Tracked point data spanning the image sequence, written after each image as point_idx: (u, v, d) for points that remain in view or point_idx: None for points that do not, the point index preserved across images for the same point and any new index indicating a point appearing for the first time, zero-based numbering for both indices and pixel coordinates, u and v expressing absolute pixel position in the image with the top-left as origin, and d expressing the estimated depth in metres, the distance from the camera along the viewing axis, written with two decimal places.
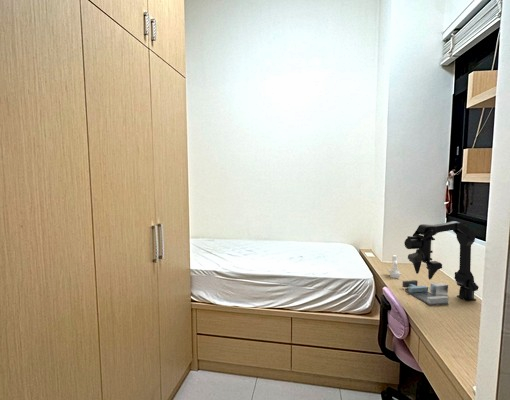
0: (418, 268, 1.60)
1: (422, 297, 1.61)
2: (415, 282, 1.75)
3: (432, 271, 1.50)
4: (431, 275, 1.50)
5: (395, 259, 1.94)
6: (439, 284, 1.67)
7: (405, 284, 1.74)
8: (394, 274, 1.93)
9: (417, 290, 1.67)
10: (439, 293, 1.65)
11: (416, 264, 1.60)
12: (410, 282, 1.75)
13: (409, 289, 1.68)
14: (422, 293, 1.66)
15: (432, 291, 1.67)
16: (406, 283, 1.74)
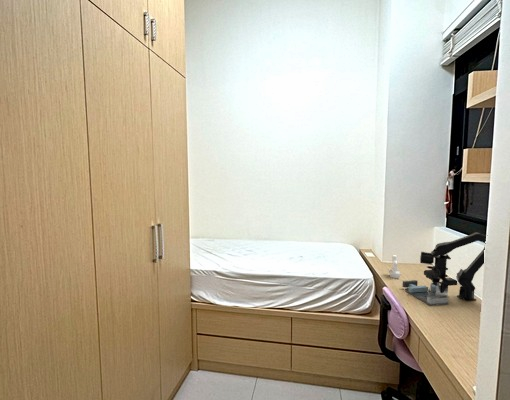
0: None
1: (422, 297, 1.61)
2: (415, 282, 1.75)
3: (444, 285, 1.64)
4: (443, 289, 1.65)
5: (395, 259, 1.94)
6: (439, 284, 1.67)
7: (405, 284, 1.74)
8: (394, 274, 1.93)
9: (417, 290, 1.67)
10: (439, 293, 1.65)
11: (435, 281, 1.70)
12: (410, 282, 1.75)
13: (409, 289, 1.68)
14: (422, 293, 1.66)
15: (432, 291, 1.67)
16: (406, 283, 1.74)
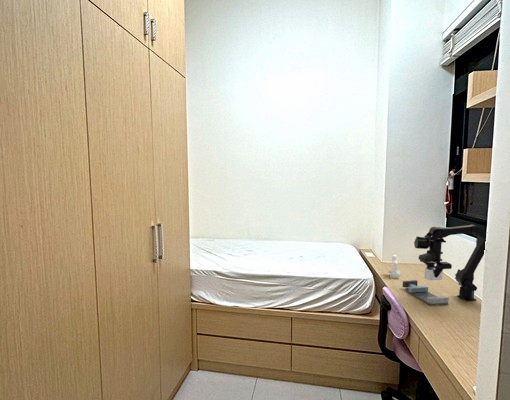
0: None
1: (422, 297, 1.61)
2: (415, 282, 1.75)
3: (438, 270, 1.60)
4: (437, 274, 1.61)
5: (395, 259, 1.94)
6: (433, 268, 1.63)
7: (405, 284, 1.74)
8: (394, 274, 1.93)
9: (417, 290, 1.67)
10: (433, 278, 1.62)
11: (429, 266, 1.66)
12: (410, 282, 1.75)
13: (409, 289, 1.68)
14: (422, 293, 1.66)
15: (426, 275, 1.64)
16: (406, 283, 1.74)
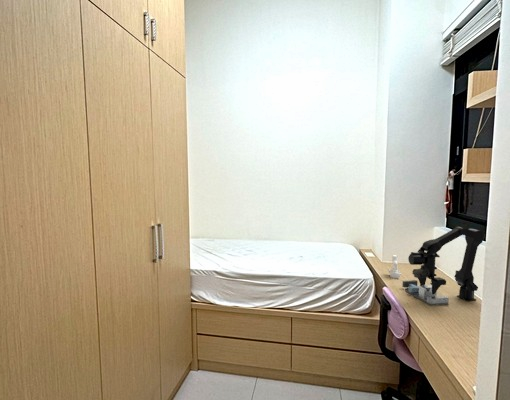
0: (423, 283, 1.65)
1: None
2: (415, 282, 1.75)
3: (435, 286, 1.56)
4: (434, 290, 1.57)
5: (395, 259, 1.94)
6: (427, 286, 1.61)
7: (405, 284, 1.74)
8: (394, 274, 1.93)
9: (417, 290, 1.67)
10: (428, 296, 1.60)
11: (421, 280, 1.65)
12: (410, 282, 1.75)
13: (409, 289, 1.68)
14: None
15: (420, 293, 1.61)
16: (406, 283, 1.74)
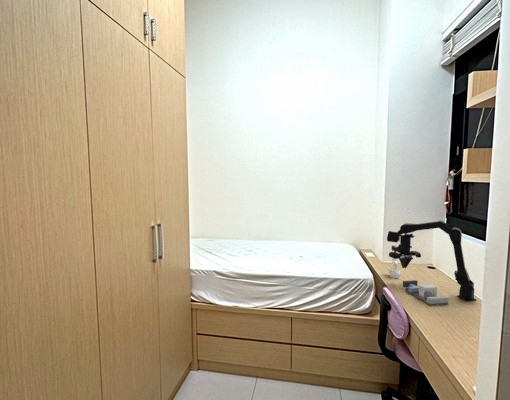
0: (406, 263, 1.80)
1: None
2: (415, 282, 1.75)
3: (402, 261, 1.80)
4: (402, 264, 1.80)
5: (395, 259, 1.94)
6: (427, 286, 1.61)
7: (405, 284, 1.74)
8: (394, 274, 1.93)
9: (417, 290, 1.67)
10: (428, 296, 1.60)
11: None
12: (410, 282, 1.75)
13: (409, 289, 1.68)
14: None
15: (420, 293, 1.61)
16: (406, 283, 1.74)
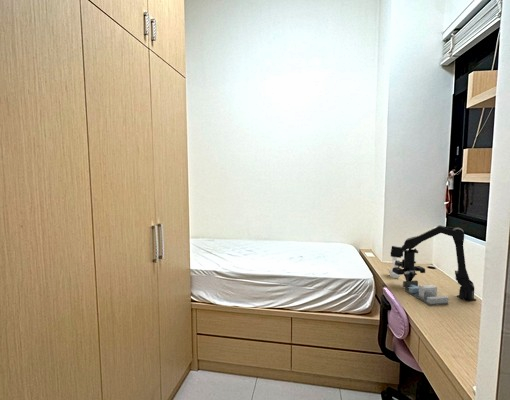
0: None
1: None
2: (415, 282, 1.75)
3: (406, 276, 1.77)
4: (407, 280, 1.77)
5: (395, 259, 1.94)
6: (427, 286, 1.61)
7: (405, 284, 1.74)
8: (394, 274, 1.93)
9: (417, 291, 1.67)
10: (428, 296, 1.60)
11: None
12: (410, 282, 1.74)
13: (409, 289, 1.68)
14: None
15: (420, 293, 1.61)
16: (406, 283, 1.74)
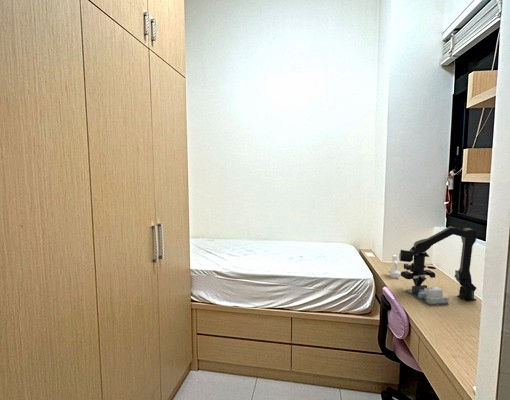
0: None
1: None
2: (425, 287, 1.68)
3: (415, 281, 1.69)
4: (416, 284, 1.69)
5: (395, 259, 1.94)
6: (433, 289, 1.57)
7: (414, 289, 1.67)
8: (394, 274, 1.93)
9: None
10: None
11: None
12: (420, 287, 1.67)
13: (419, 295, 1.60)
14: None
15: (426, 296, 1.58)
16: (415, 288, 1.67)
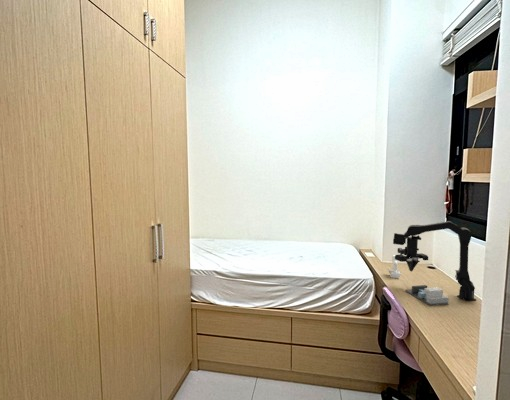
0: None
1: None
2: (425, 287, 1.68)
3: (409, 263, 1.74)
4: (410, 267, 1.74)
5: (395, 259, 1.94)
6: (433, 289, 1.57)
7: (414, 289, 1.67)
8: (394, 274, 1.93)
9: None
10: None
11: None
12: (420, 287, 1.67)
13: (419, 295, 1.61)
14: None
15: (426, 296, 1.58)
16: (415, 288, 1.67)
